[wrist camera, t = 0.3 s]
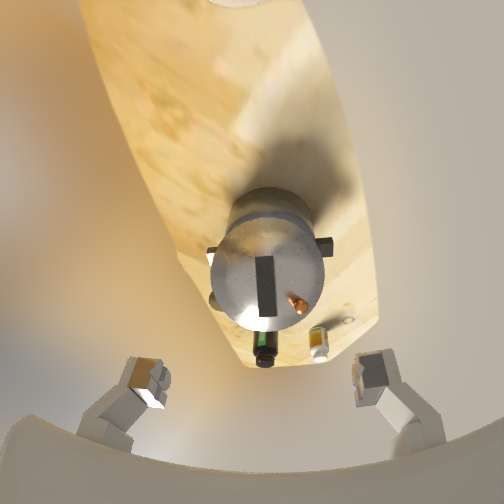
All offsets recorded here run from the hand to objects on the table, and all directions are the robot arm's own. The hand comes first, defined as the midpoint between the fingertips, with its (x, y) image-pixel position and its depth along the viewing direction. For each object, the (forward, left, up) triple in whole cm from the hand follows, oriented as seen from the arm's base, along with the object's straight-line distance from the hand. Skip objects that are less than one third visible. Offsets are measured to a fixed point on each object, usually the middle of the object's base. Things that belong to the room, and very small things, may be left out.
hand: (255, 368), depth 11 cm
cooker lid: (+18, -2, -23) cm, 29 cm away
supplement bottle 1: (+57, -7, -40) cm, 70 cm away
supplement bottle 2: (+61, +8, -40) cm, 73 cm away
